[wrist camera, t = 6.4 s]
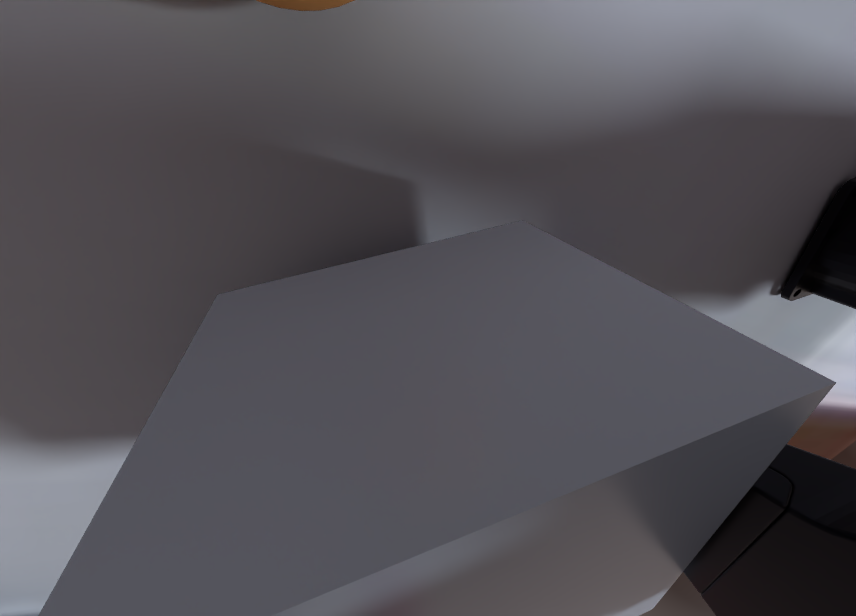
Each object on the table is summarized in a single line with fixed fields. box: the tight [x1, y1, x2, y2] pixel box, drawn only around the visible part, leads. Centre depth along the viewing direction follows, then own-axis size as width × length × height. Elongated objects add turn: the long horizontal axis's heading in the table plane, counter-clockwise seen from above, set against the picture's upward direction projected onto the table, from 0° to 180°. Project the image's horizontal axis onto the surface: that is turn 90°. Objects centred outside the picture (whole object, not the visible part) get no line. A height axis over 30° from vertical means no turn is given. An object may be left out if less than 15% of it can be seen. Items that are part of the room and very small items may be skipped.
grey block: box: [39, 220, 836, 616], centre depth 7 cm, size 8×8×6 cm
